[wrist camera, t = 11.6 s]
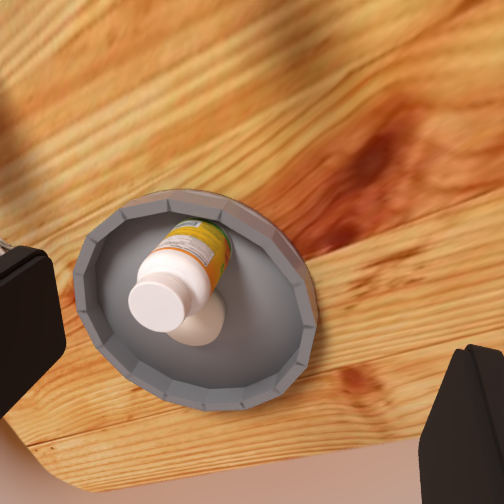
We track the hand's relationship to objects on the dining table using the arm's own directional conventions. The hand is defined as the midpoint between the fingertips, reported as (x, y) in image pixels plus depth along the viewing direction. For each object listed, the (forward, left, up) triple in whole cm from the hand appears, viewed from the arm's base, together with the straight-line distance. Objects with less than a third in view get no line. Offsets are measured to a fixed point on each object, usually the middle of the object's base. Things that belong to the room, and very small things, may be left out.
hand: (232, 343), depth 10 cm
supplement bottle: (+8, +11, -24) cm, 27 cm away
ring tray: (+8, +17, -25) cm, 31 cm away
